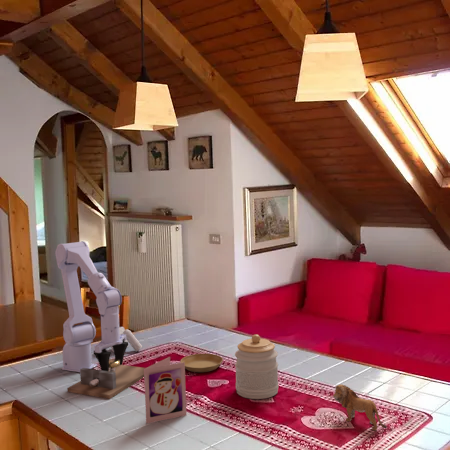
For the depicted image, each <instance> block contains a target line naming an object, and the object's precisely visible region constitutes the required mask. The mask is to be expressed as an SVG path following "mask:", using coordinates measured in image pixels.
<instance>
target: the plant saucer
mask: <svg viewBox="0 0 450 450" xmlns="http://www.w3.org/2000/svg"><path fill="white" fill-rule="evenodd" d="M223 361H224V358H223V357H222V356H221V355H217V354H214V353H195V354H190V355H187V356H184V357H182V358H181V359H180V361H179V363H183V362H185V370H187V371H189V372H192V373H207V372H211V371H214V370H216V369H217V368H218V367H220V365H221V364H222V363H223Z"/></svg>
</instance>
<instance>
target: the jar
mask: <svg viewBox="0 0 450 450" xmlns="http://www.w3.org/2000/svg"><path fill="white" fill-rule="evenodd" d="M236 347H237V349H238V350H237V351H235V353H234V357H235V358H236V362H235V364H234V366H235V389H236V394H238V396H240V397H242V398H245V399H250V400H251V399H252V400H262V399H263V400H264V399H268V398H272V397H274V396H276V395H277V394H278V391H279V381H278V379H279V377H278V376H279V374H278V371H279V370H278V369H279V368H278V366H279V363H278V361H277V357H278V355H279V352H277V350H276V349H275V348H276V345H275V344H274V343H273V342H271V341H270V340H269V339H266V338H261V336H260V335H259V334H253V335H252V336H251V338H247V339H245V340H242V341H241V342H240V343H239V344H238V345H237V346H236Z"/></svg>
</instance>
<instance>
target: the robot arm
mask: <svg viewBox="0 0 450 450" xmlns="http://www.w3.org/2000/svg"><path fill="white" fill-rule="evenodd" d="M90 252H91V251H90V248H89V245H88V243H87V242H86V241H84V240H83V241H78V242H77V241H76V242H69V243H59V244H57V246H56V249H55V252H54V253H55V259H56V260H55V261H56V265H57V268H58V269H59V270H60V271H61V272H60V273H61V278H62V283H63V288H64V293H65V298H66V305H67V310H68V316H69V317H68V318H67V319H66V320H65V321H64V323H63V326H62V327H63V332H62V335H63V340H64V341H65V342H64V345H63V348H62V365H63V367H62V368H61V370H63V371H70V372H76V373H80V369H82V368H89V369H95V368H96V367H97V366H98V364H99V367H100V370H103V371H109V359H111V354H112V351H108V349H109V348H111V346H112V347H113V350H114V353H113V354H114V359H118V360H120V365H123V361H124V358H125V353H126V351H127V348H128V347H129V342H124V341H126V340H127V338H126V335H125V334H121V335H120V330H119V327H120V315H119V314H120V311H119V306H121V305H122V302H123V297H122V293H121V291H120V290H119V288H116V287H114V286H112V285H111V284H110V282H109V281H108V279H107V278H106V276H105V275H104V273H102V272H98V269H97V268H96V266H95V264H94V263H93V260H92V259H91V257H90ZM78 268H80V269H81V271H83V273H84V274H85V276H86V277H87V278H88V279H87V285H88V286H89V288H90V289H91V291H92V292H93V294H94V295H95V297H96V299H95V302H96V305H97V308H98V313H99V314H100V331H101V340H100V342H99V343H97V345H94V349H93V355H94V356H95V358H96V359H97V362H98V364H97V363H92V362H93V361H92V343H93V342H94V341H93V340H94V339H95V337H96V334H97V333H96V332H97V330H96V326H95V325H94V323H93V319H92V316H89V315H87V314H86V313H85V310H84V303H83V298H82V292H81V287H80V282H79V278H78V277H79V276H78V272H77V271H78ZM99 314H98V315H99ZM127 346H128V347H127Z"/></svg>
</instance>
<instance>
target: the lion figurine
mask: <svg viewBox="0 0 450 450" xmlns="http://www.w3.org/2000/svg"><path fill="white" fill-rule="evenodd" d="M334 389H335V392H334V394H333V398H334V400H335V401H336V402H338V403H339V404H341V407H343V408H345V409H346V413H347V417H346V418H345V421H346V422H351V421H352V420H353V419H352V418H355V415H356V411H357V412H358V413H365V415H366V418H367V419H368V420H369V424H371V425H373V426H372V427H371V430H372V431H375V432H376V431H377V430H378V424H379V425H380V426H381V428H383V429H387V428H388V426H386V425H385V424H383V423H382V422H381V419H380V414H379V411H378V408H377V405H376V403H375V402H374V401H373V400H372V399H364V398H361V397H359V396H358V395H357V393H356V392H355V391H354V390H353V389H351V388H350V387H349V386H347V385H344V384H338V385H335V388H334ZM377 421H378V423H377Z"/></svg>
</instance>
